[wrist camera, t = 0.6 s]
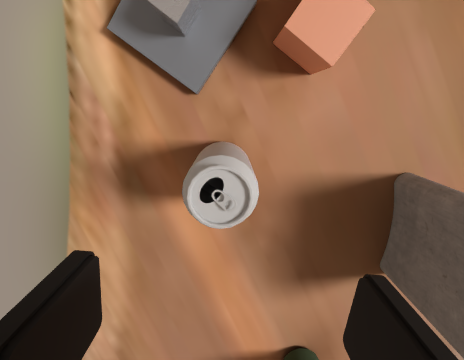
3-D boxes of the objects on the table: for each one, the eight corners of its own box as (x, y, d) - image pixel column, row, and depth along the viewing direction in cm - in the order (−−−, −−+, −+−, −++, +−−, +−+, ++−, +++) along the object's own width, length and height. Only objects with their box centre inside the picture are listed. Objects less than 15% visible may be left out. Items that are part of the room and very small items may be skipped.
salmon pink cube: (304, -5, 30) (326, -36, 23) (343, 30, 31) (375, 9, 24) (272, 43, 31) (284, 26, 24) (310, 74, 32) (332, 66, 25)
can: (217, 129, 34) (211, 141, 22) (261, 163, 35) (277, 191, 24) (184, 173, 35) (162, 206, 24) (228, 204, 37) (227, 250, 25)
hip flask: (395, 172, 36) (590, 251, 16) (425, 172, 36) (653, 250, 17) (378, 272, 40) (515, 426, 21) (404, 272, 40) (565, 425, 21)
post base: (166, -71, 28) (148, -121, 22) (255, 5, 30) (262, -22, 24) (112, 31, 30) (82, 12, 24) (198, 94, 33) (190, 91, 26)
